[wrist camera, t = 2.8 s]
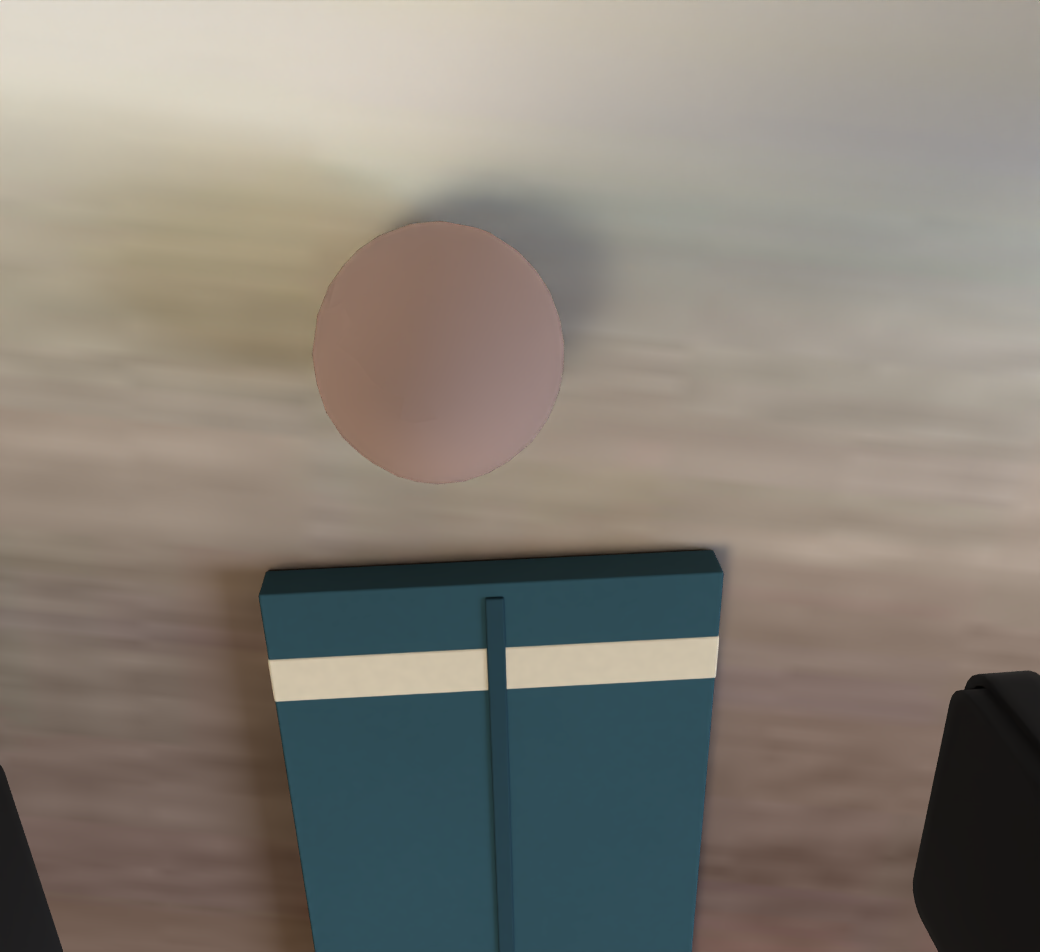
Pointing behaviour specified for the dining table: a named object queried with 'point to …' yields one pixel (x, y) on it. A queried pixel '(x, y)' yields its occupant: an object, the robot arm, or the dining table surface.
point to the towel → (498, 749)
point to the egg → (438, 352)
